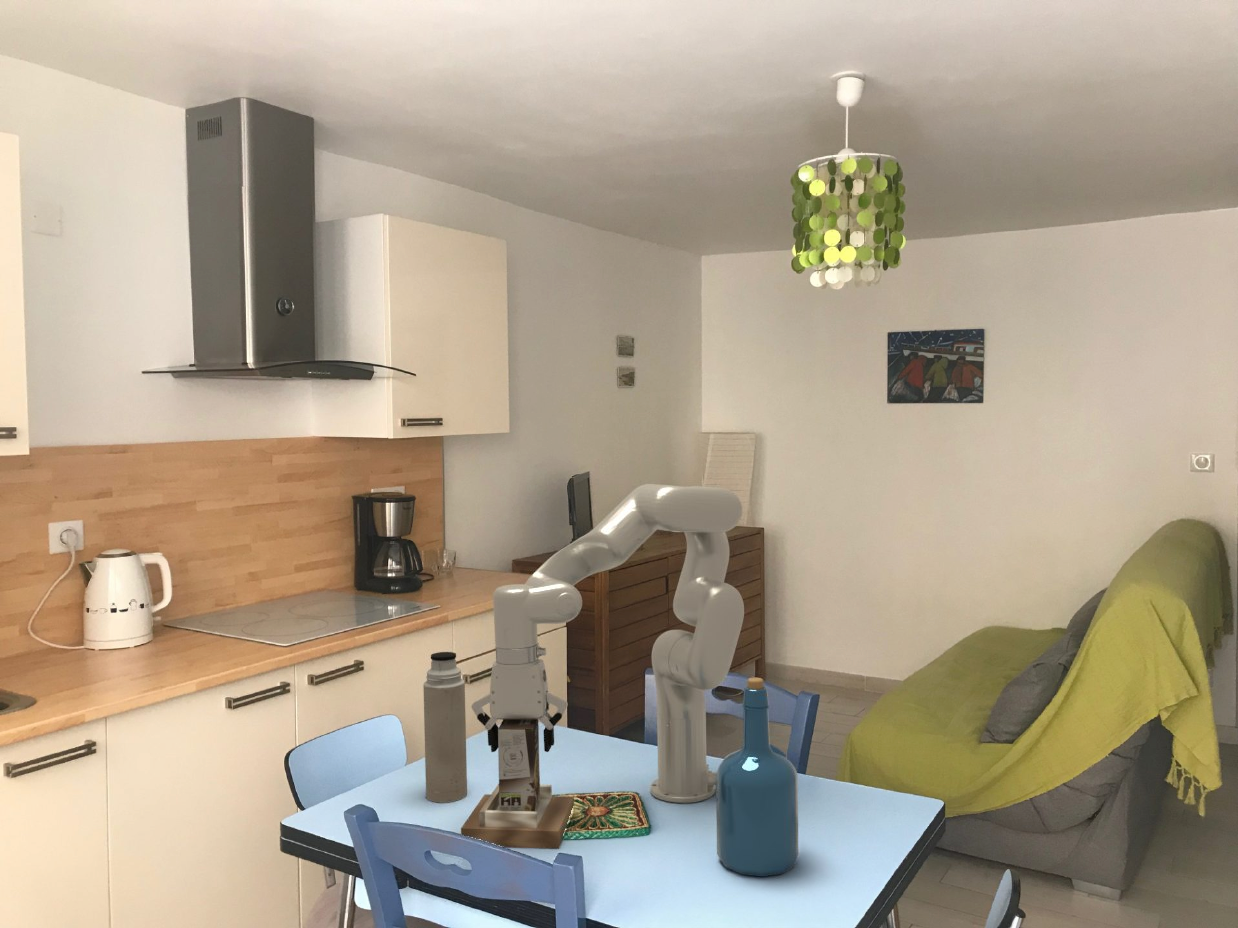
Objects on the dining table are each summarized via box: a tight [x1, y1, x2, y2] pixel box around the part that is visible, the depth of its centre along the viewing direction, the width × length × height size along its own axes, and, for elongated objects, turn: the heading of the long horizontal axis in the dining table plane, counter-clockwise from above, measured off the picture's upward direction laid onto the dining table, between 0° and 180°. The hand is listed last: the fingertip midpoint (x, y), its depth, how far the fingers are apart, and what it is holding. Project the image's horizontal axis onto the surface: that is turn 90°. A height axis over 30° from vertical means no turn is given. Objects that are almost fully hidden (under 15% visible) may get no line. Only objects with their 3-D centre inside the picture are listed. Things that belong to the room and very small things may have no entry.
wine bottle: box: [715, 677, 799, 877], centre depth 160 cm, size 14×13×30 cm
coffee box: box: [497, 719, 541, 812], centre depth 175 cm, size 9×6×16 cm
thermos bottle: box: [422, 651, 468, 804], centre depth 192 cm, size 8×8×28 cm
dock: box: [460, 783, 575, 850], centre depth 175 cm, size 17×16×6 cm
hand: (521, 749), depth 175 cm, fingers open, 9 cm apart
